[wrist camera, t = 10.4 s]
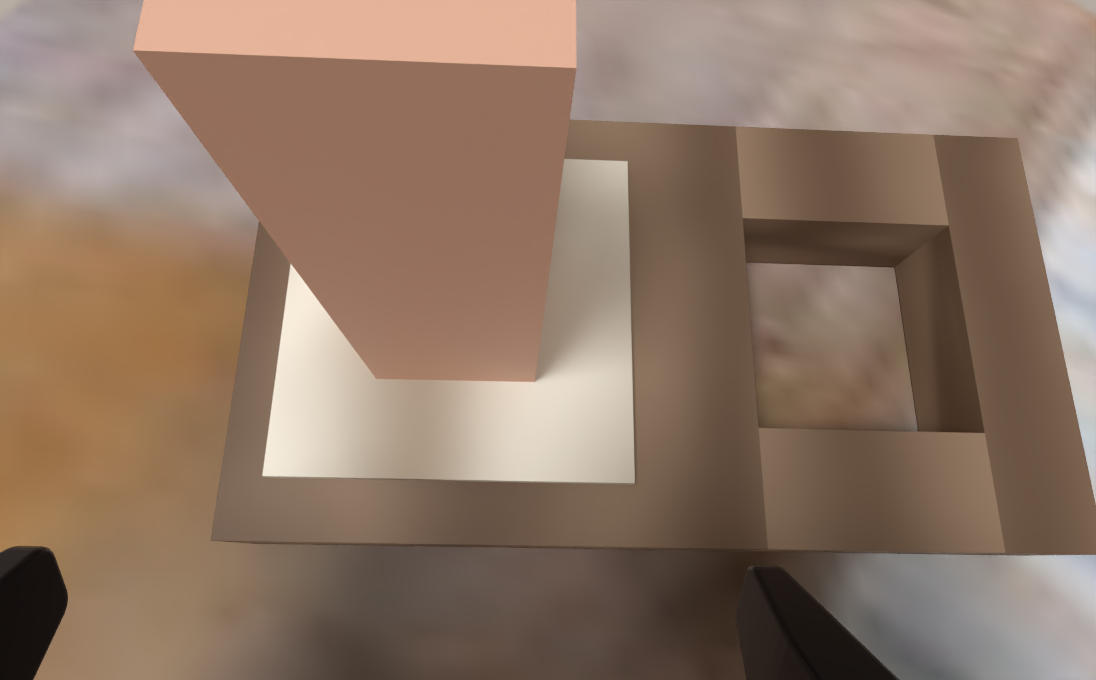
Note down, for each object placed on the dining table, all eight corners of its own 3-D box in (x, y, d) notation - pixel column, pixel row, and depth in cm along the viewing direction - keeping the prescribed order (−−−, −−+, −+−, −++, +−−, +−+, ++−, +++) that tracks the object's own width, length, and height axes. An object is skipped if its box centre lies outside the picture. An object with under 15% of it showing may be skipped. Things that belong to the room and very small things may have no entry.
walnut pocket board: (957, 188, 24) (1024, 132, 21) (1023, 555, 21) (1115, 554, 17) (305, 163, 23) (273, 101, 20) (254, 543, 20) (205, 540, 16)
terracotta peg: (534, 382, 18) (576, 67, 7) (376, 378, 18) (133, 50, 6) (536, 238, 19) (575, -239, 8) (388, 234, 19) (201, -262, 8)
